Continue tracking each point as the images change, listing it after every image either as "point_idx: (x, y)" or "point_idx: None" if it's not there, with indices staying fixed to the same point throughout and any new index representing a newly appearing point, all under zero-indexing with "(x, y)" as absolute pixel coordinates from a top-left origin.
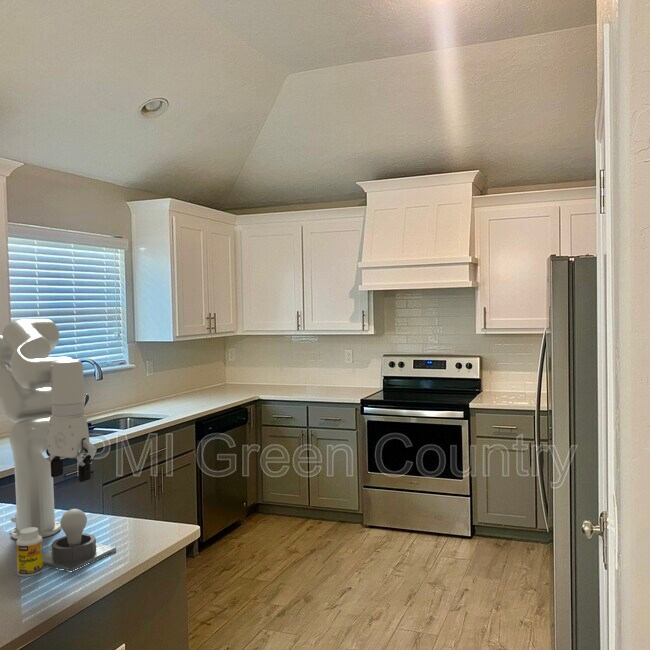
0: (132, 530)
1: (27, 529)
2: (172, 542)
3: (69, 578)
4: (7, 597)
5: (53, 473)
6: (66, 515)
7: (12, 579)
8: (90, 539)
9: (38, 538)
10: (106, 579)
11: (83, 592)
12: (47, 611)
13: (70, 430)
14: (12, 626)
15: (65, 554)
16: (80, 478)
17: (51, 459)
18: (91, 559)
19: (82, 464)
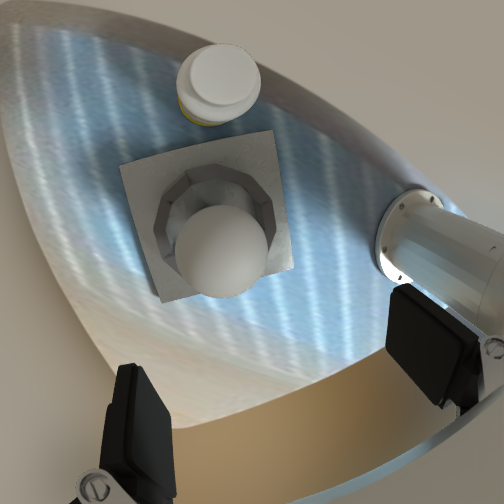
0: (250, 368)
1: (234, 72)
2: None
3: (94, 147)
4: (123, 17)
5: (405, 302)
6: (218, 231)
7: None
8: None
9: (187, 97)
10: (32, 206)
11: (14, 142)
12: (6, 63)
13: None
14: (16, 8)
15: (176, 180)
16: (115, 382)
17: (486, 353)
18: (136, 229)
19: (98, 482)
